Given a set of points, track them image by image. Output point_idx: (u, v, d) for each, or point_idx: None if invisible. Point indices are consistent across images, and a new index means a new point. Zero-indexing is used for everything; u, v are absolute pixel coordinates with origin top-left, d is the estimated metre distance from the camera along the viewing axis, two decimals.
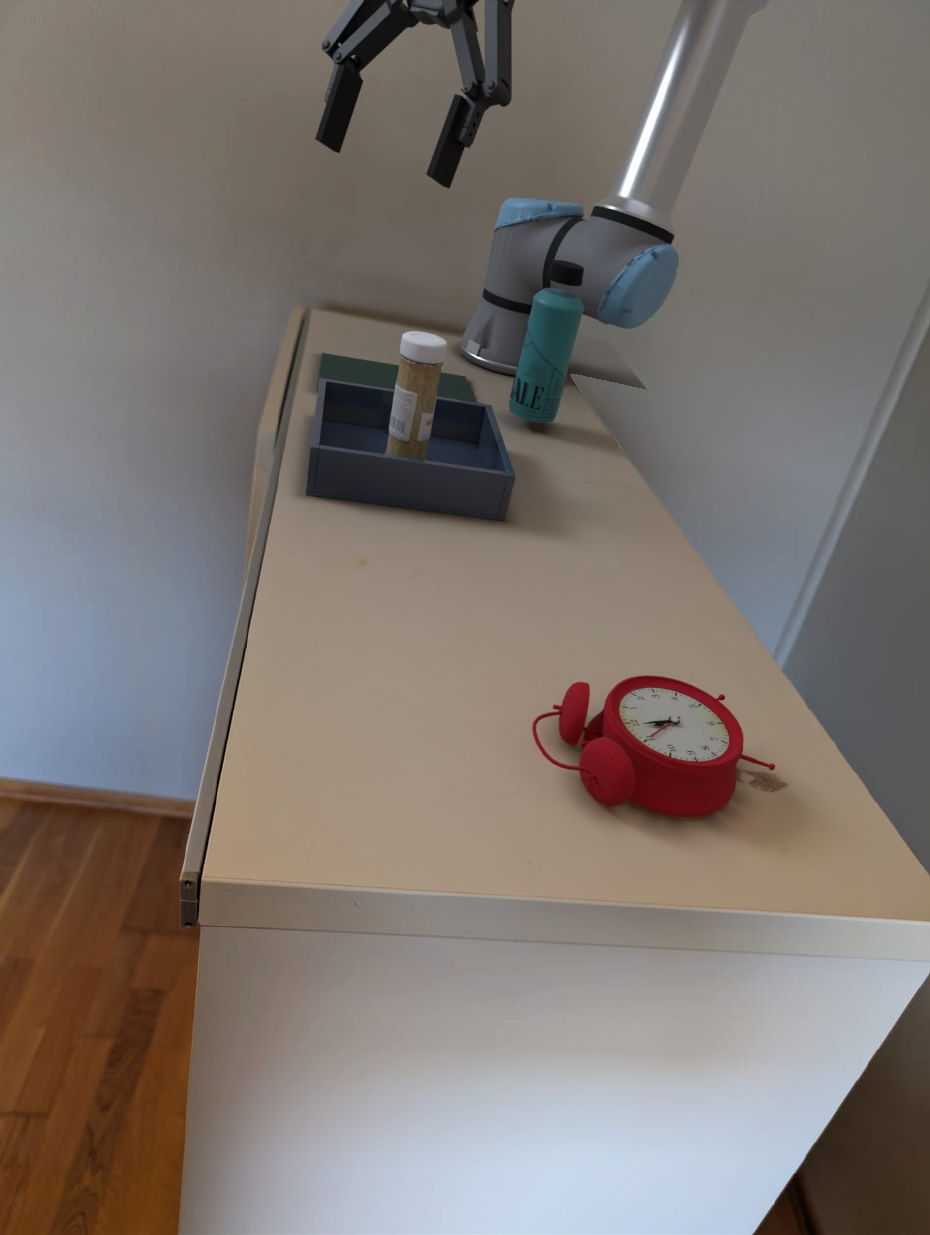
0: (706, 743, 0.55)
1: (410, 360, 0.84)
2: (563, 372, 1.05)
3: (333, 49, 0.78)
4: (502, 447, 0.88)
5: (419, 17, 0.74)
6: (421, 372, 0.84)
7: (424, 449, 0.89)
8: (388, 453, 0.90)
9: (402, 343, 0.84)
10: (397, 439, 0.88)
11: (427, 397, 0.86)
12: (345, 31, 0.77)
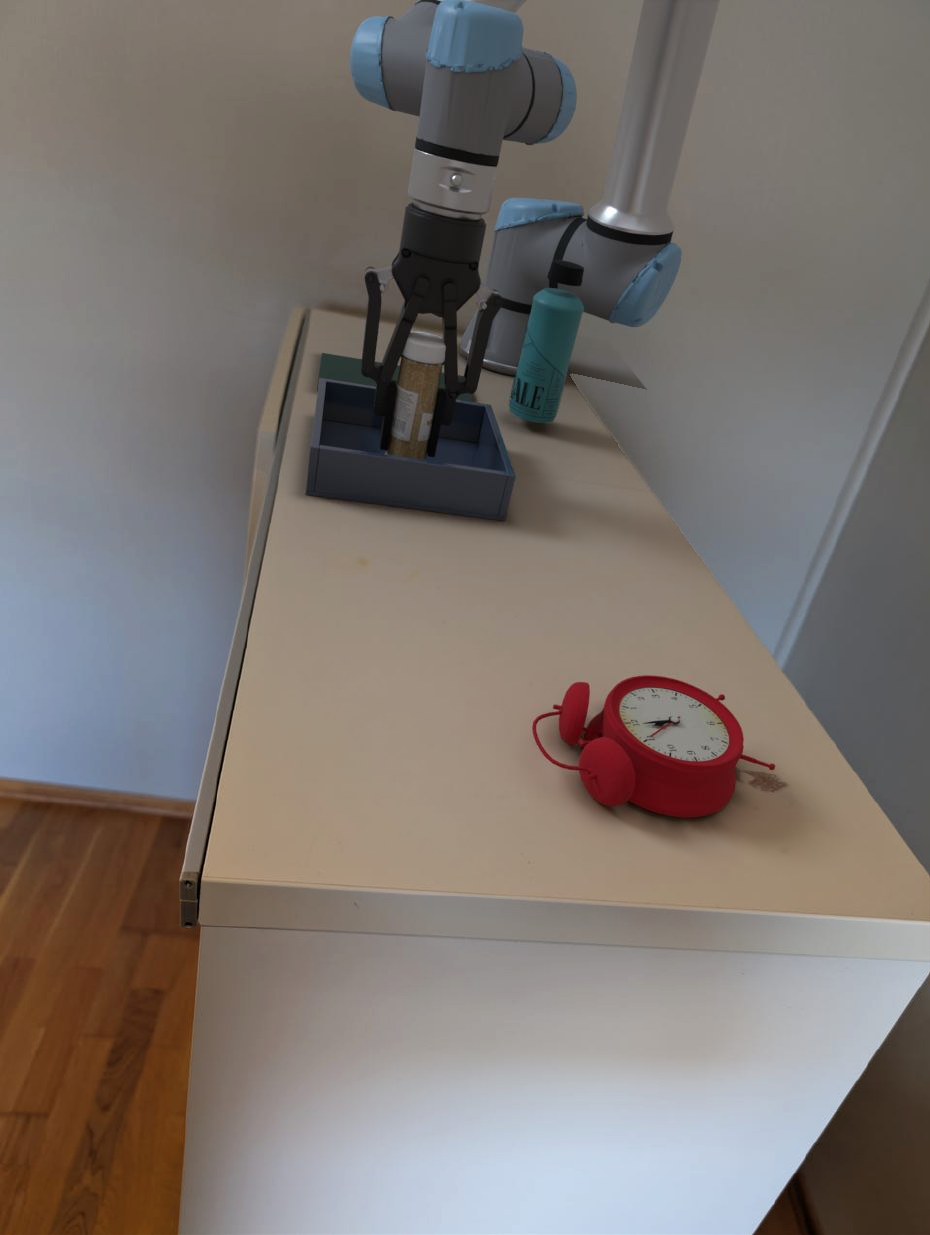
0: (706, 743, 0.55)
1: (410, 360, 0.84)
2: (563, 372, 1.05)
3: (373, 369, 0.85)
4: (502, 447, 0.88)
5: None
6: (421, 372, 0.84)
7: (424, 449, 0.89)
8: (388, 453, 0.90)
9: None
10: (398, 439, 0.88)
11: (428, 398, 0.86)
12: (375, 351, 0.84)
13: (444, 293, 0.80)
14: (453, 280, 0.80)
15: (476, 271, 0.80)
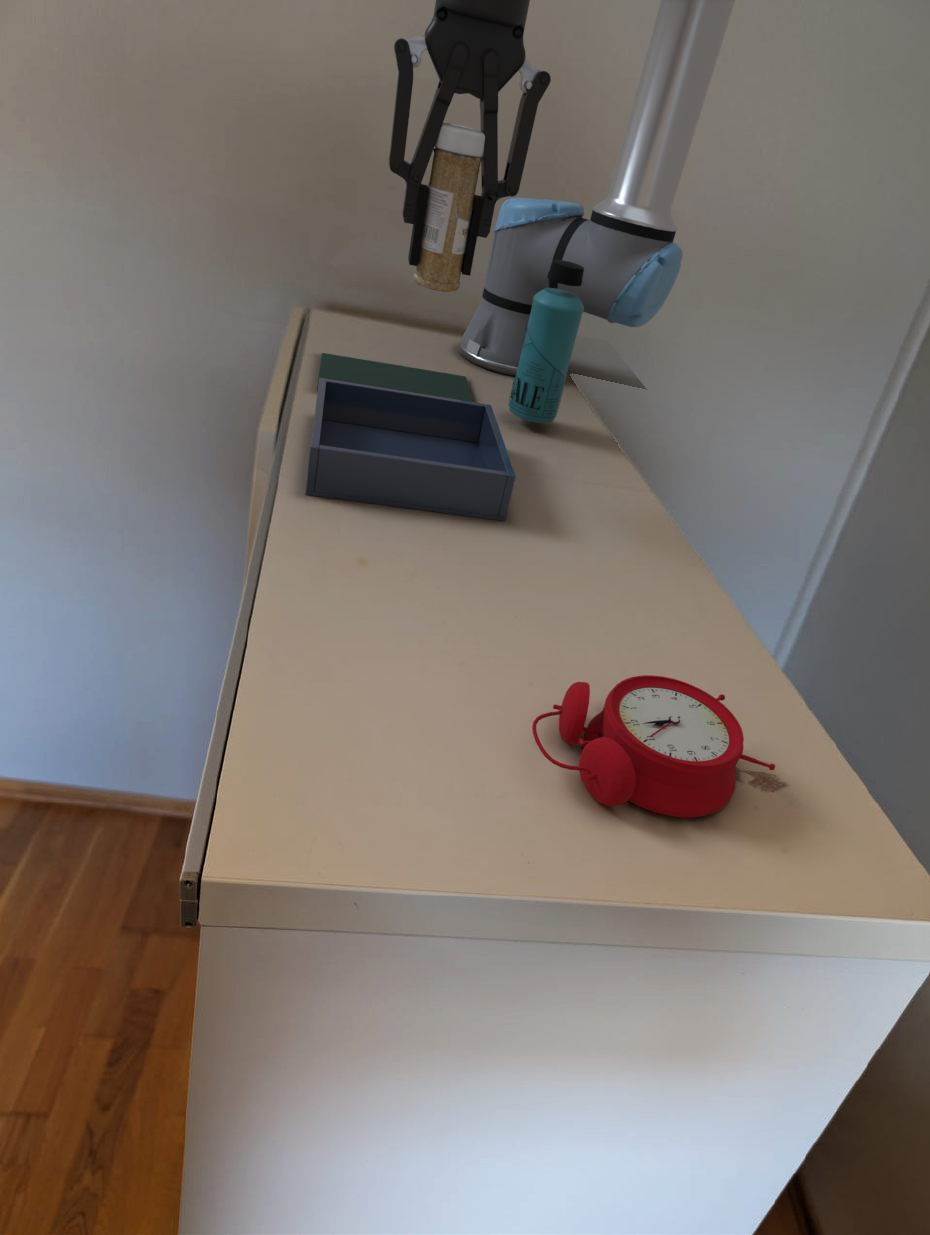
0: (707, 743, 0.55)
1: (445, 152, 0.74)
2: (563, 372, 1.05)
3: (403, 164, 0.75)
4: (502, 447, 0.88)
5: None
6: (457, 166, 0.75)
7: (458, 266, 0.80)
8: (418, 271, 0.80)
9: None
10: (429, 251, 0.79)
11: (464, 199, 0.76)
12: None
13: (485, 65, 0.71)
14: (494, 50, 0.71)
15: (521, 40, 0.71)
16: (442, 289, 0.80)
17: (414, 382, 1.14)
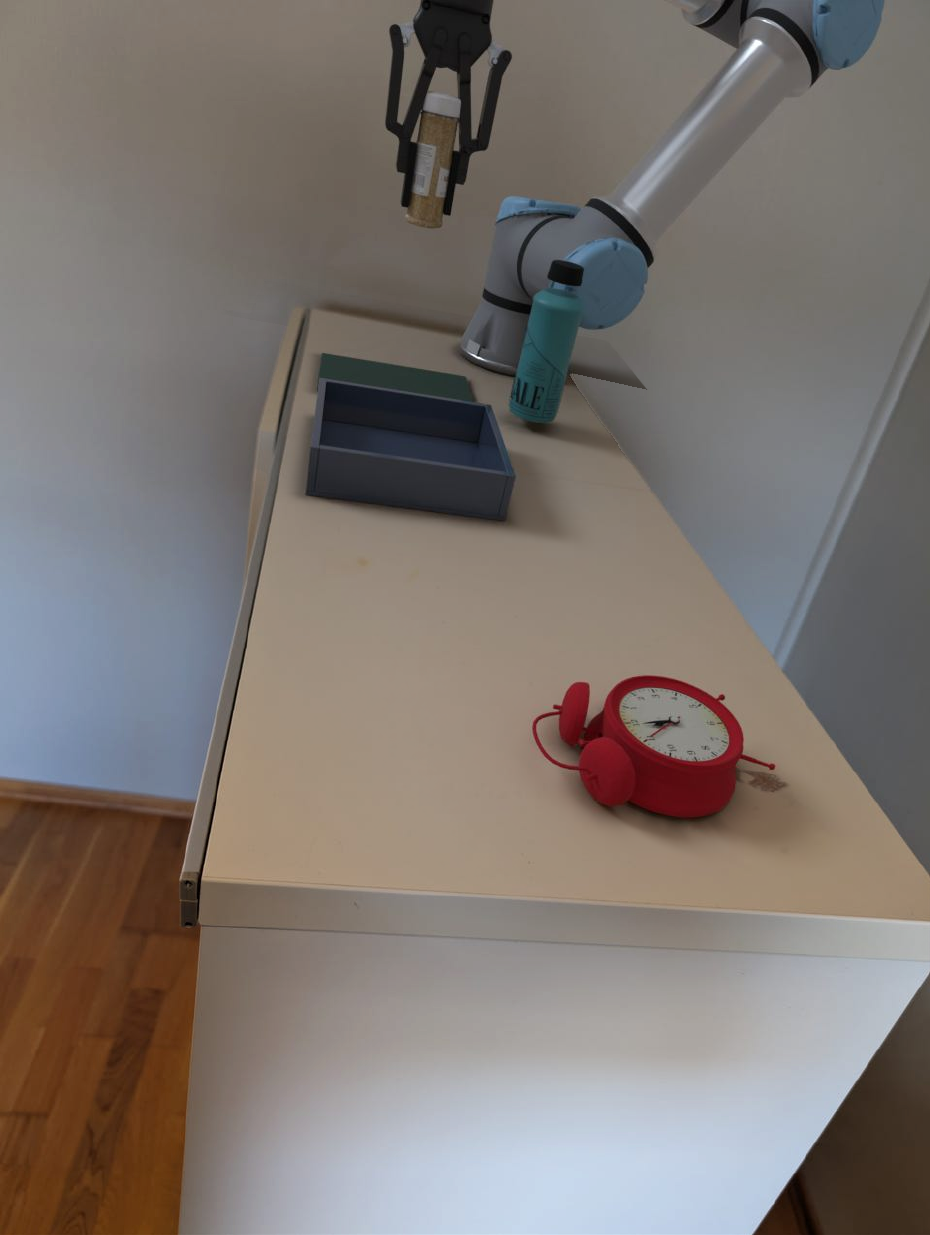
0: (706, 743, 0.55)
1: (430, 113, 0.94)
2: (563, 372, 1.05)
3: (396, 124, 0.95)
4: (502, 447, 0.88)
5: None
6: (439, 125, 0.94)
7: (441, 207, 1.00)
8: (409, 211, 1.00)
9: None
10: (418, 194, 0.98)
11: (445, 152, 0.96)
12: (398, 105, 0.94)
13: (460, 45, 0.91)
14: (467, 33, 0.91)
15: (488, 25, 0.91)
16: (428, 226, 1.00)
17: (414, 382, 1.14)
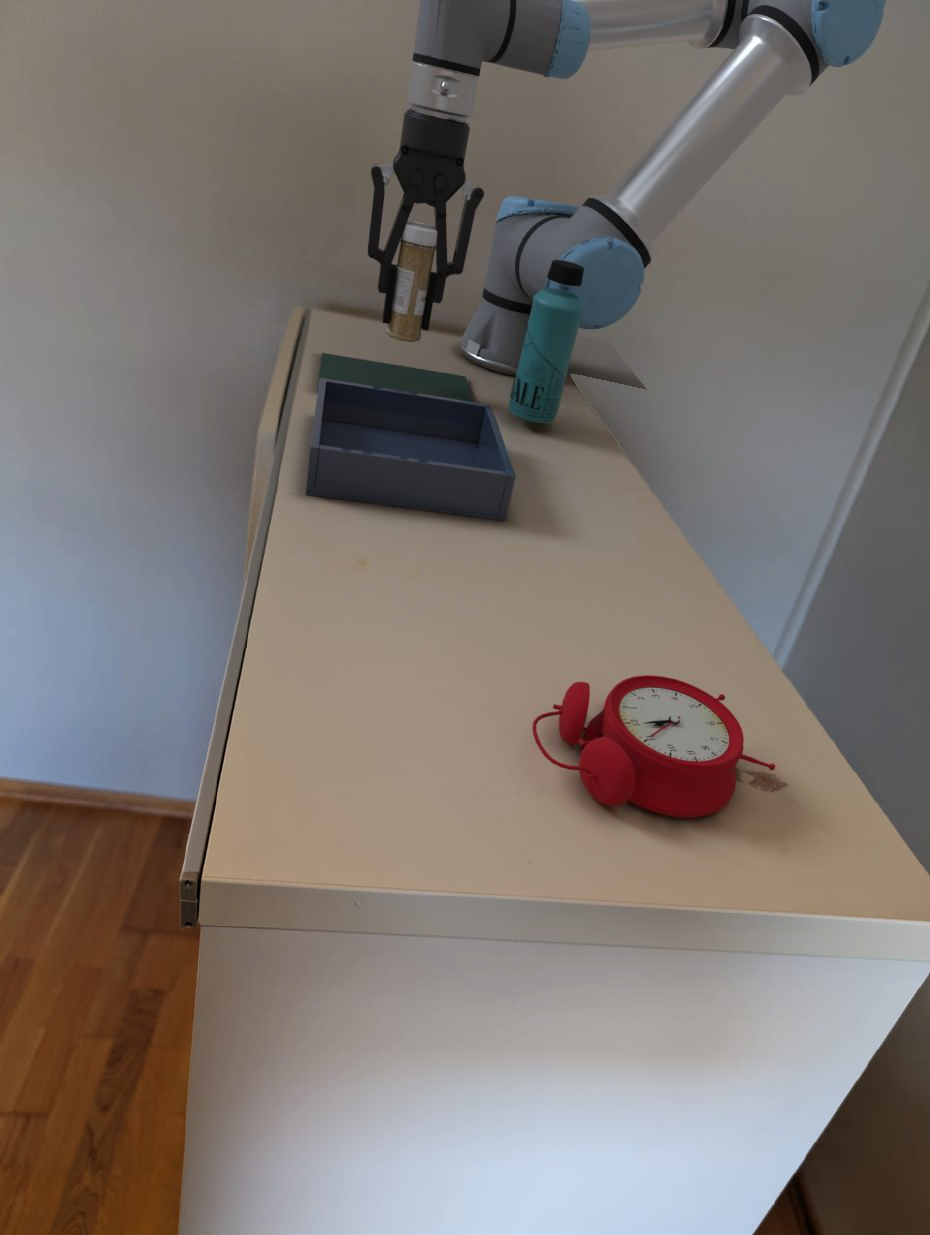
0: (707, 743, 0.55)
1: (408, 243, 1.02)
2: (563, 372, 1.05)
3: (377, 251, 1.03)
4: (502, 447, 0.88)
5: None
6: (417, 253, 1.02)
7: (419, 323, 1.08)
8: (389, 326, 1.08)
9: None
10: (397, 313, 1.06)
11: (423, 276, 1.04)
12: (379, 235, 1.02)
13: (436, 185, 0.99)
14: (443, 174, 0.99)
15: (462, 167, 0.99)
16: (407, 340, 1.08)
17: (414, 382, 1.14)
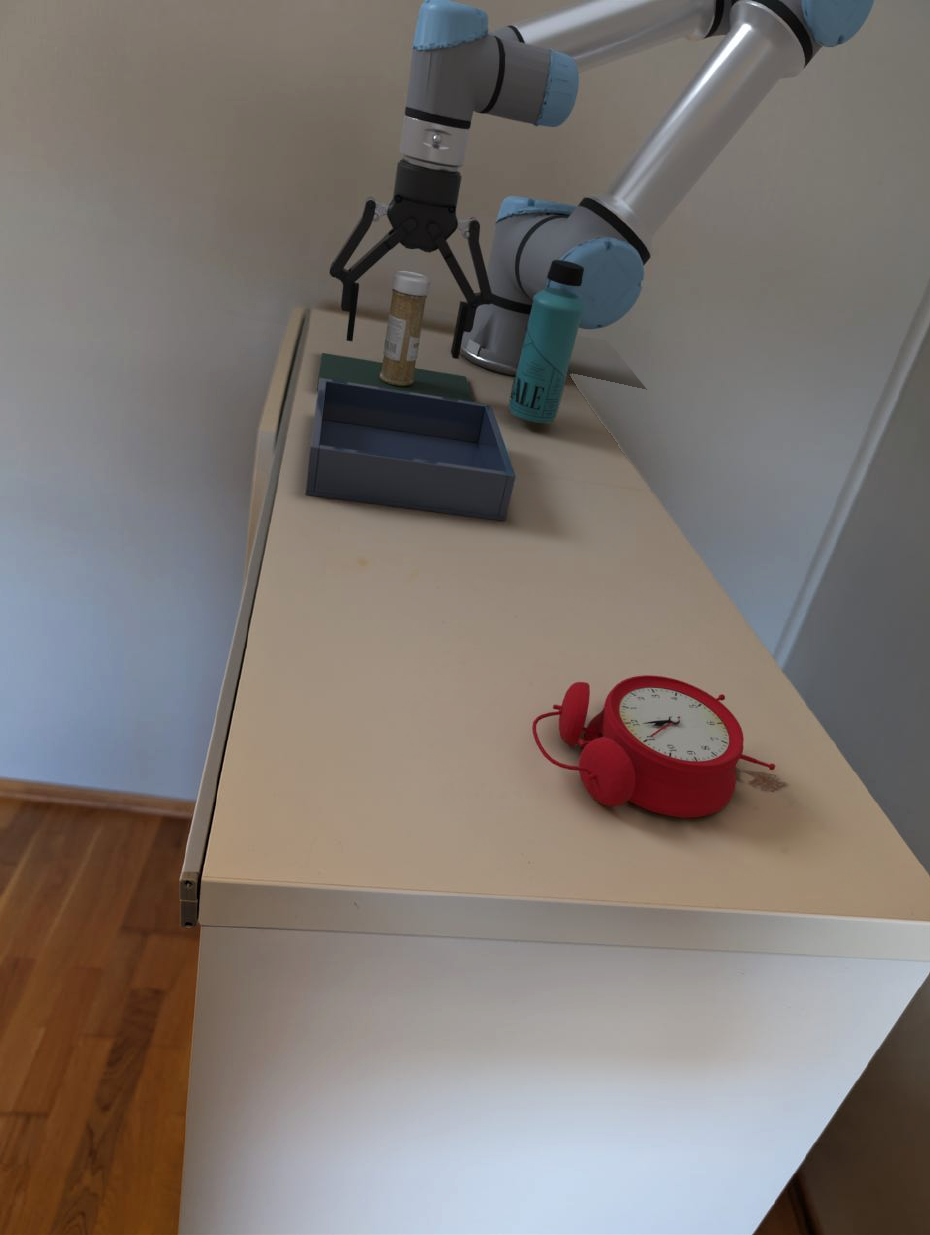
0: (706, 743, 0.55)
1: (400, 293, 1.05)
2: (563, 372, 1.05)
3: (339, 273, 1.04)
4: (502, 447, 0.88)
5: None
6: (409, 303, 1.05)
7: (412, 368, 1.11)
8: (383, 371, 1.11)
9: (394, 279, 1.05)
10: (390, 359, 1.09)
11: (414, 324, 1.07)
12: (347, 260, 1.03)
13: (430, 233, 1.01)
14: (435, 221, 1.01)
15: (454, 214, 1.01)
16: (400, 385, 1.11)
17: (414, 382, 1.14)
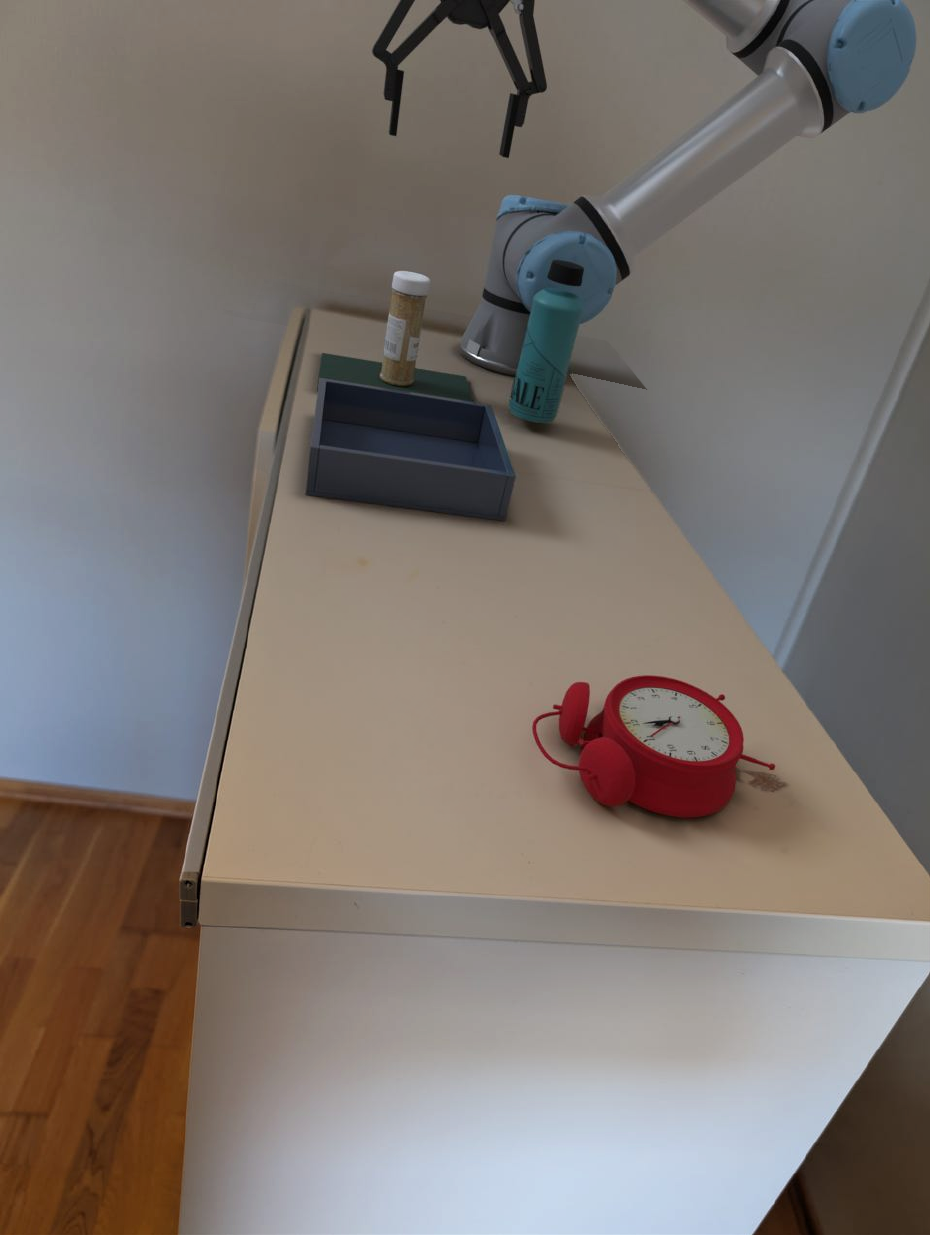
0: (706, 743, 0.55)
1: (400, 293, 1.05)
2: (563, 372, 1.05)
3: (383, 54, 0.96)
4: (502, 447, 0.88)
5: None
6: (408, 303, 1.05)
7: (412, 368, 1.11)
8: (383, 371, 1.11)
9: (394, 279, 1.05)
10: (390, 359, 1.09)
11: (414, 324, 1.07)
12: (392, 38, 0.95)
13: (482, 3, 0.94)
14: None
15: None
16: (400, 385, 1.11)
17: (414, 382, 1.14)
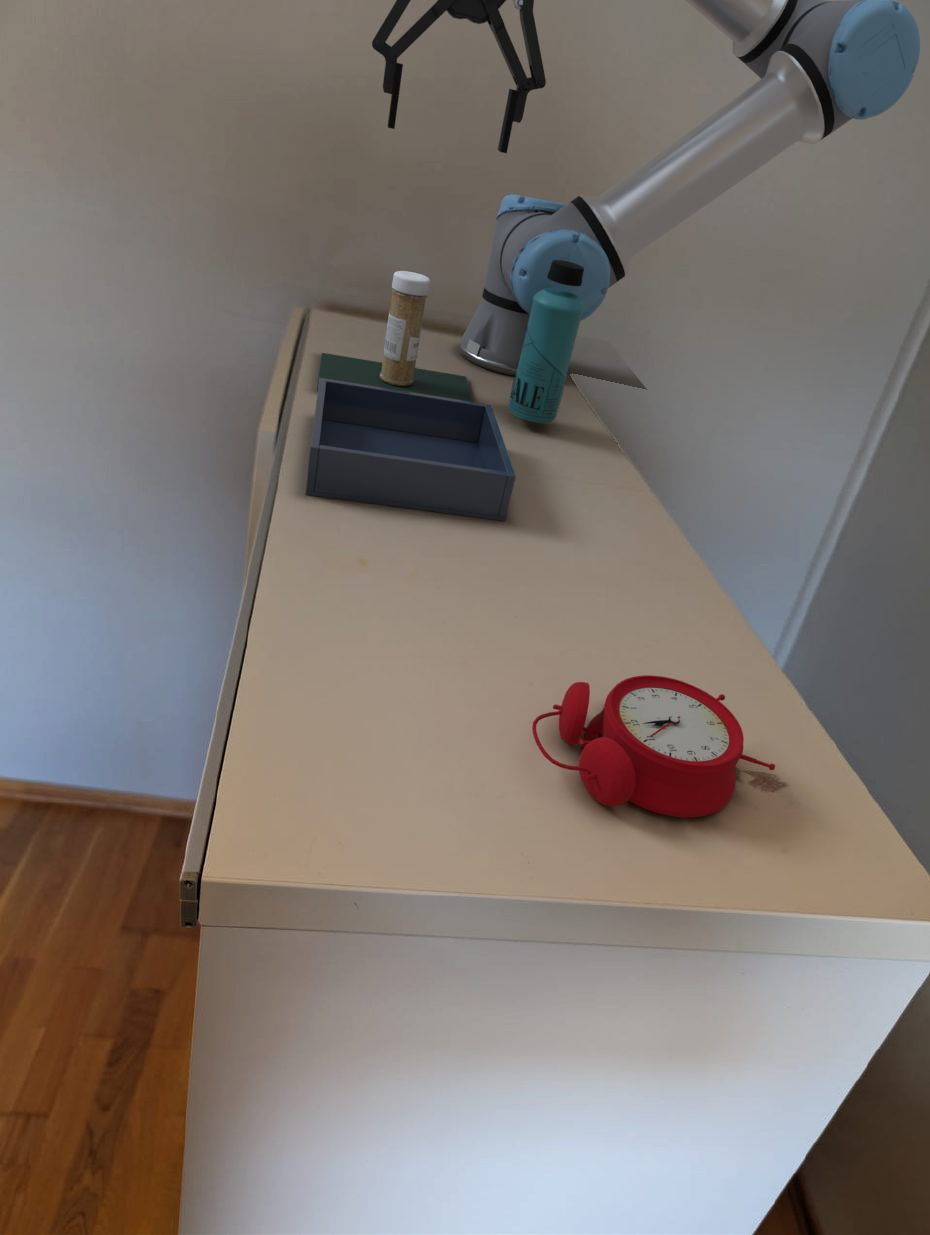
0: (706, 743, 0.55)
1: (400, 293, 1.05)
2: (563, 372, 1.05)
3: (382, 46, 0.97)
4: (502, 447, 0.88)
5: (457, 18, 0.97)
6: (408, 303, 1.05)
7: (412, 368, 1.11)
8: (383, 371, 1.11)
9: (394, 279, 1.05)
10: (390, 359, 1.09)
11: (414, 324, 1.07)
12: (391, 31, 0.96)
13: None
14: None
15: None
16: (400, 385, 1.11)
17: (414, 382, 1.14)
